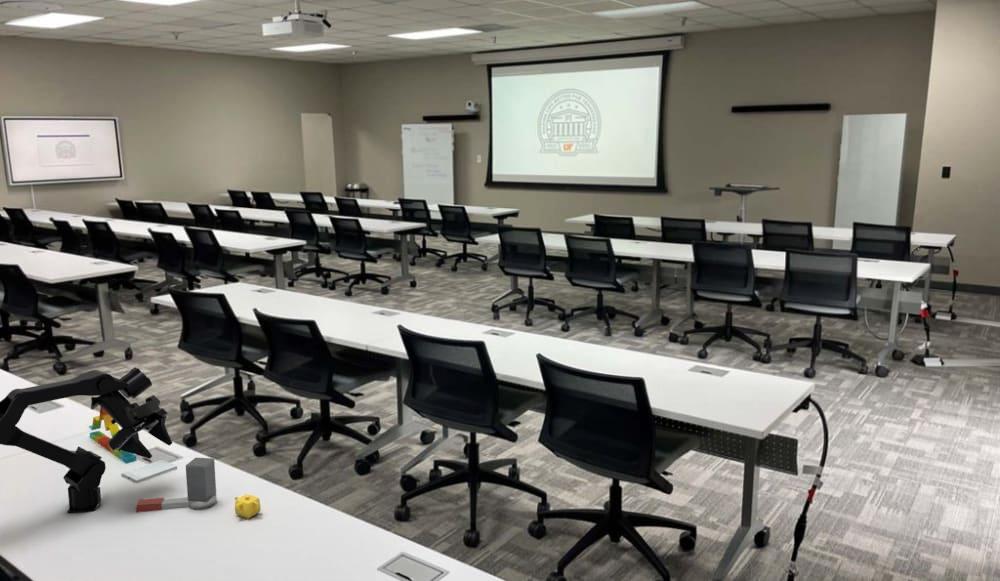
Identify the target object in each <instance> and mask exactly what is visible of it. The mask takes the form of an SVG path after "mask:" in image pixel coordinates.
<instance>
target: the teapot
mask: <svg viewBox="0 0 1000 581" xmlns="http://www.w3.org/2000/svg"><path fill="white" fill-rule="evenodd" d="M234 501H235V502H234V512H235V514H236V515H238V517H244V518H245V519H247V520H249V519H251V518H252V517H253V516H256V515H258V514H259V513H260V512H261V502H260V497H258V496H255V495H252V494H248V493H247V494H245V495H242V496H241V497H238V496H236V497H234Z"/></svg>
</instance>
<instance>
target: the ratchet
mask: <svg viewBox="0 0 1000 581" xmlns="http://www.w3.org/2000/svg"><path fill="white" fill-rule="evenodd" d="M217 502H218V500H217V493H216V494H215V495H214V496H213V497H212V498H211V499H210V500H209V501H207V502H196V501H188V496H187V497H177V498H175V497H174V498H164V497H154V498H151V497H150V498H142V499H141V498H140V499H138V501H137V503H136V505H135V508H136V509H135V510H136V511H135V512H136V513H141V512H142V513H143V512H155V511H156V512H157V511H163V510H164V511H165V510H174V509H186V508H189V509H190V510H193V511H202V510H203V511H204V510H208V509H211V508H213V507H215V505H216V504H218V503H217Z"/></svg>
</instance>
